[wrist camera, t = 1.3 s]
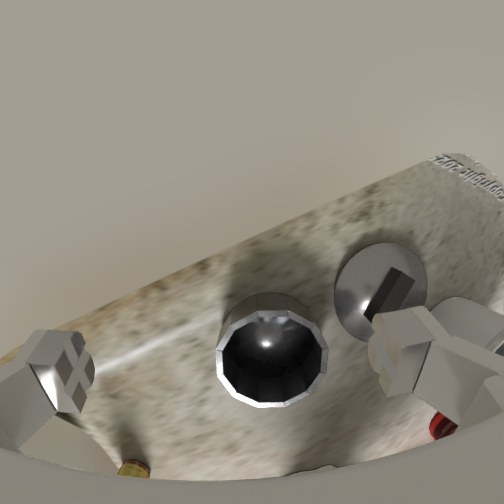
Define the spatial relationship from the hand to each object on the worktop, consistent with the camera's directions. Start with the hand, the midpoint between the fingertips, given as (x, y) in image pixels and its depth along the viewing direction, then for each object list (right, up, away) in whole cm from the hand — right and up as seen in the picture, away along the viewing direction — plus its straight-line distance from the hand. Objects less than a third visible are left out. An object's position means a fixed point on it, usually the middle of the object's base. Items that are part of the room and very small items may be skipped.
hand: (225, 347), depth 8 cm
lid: (+20, -3, +38) cm, 43 cm away
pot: (+3, -10, +38) cm, 40 cm away
